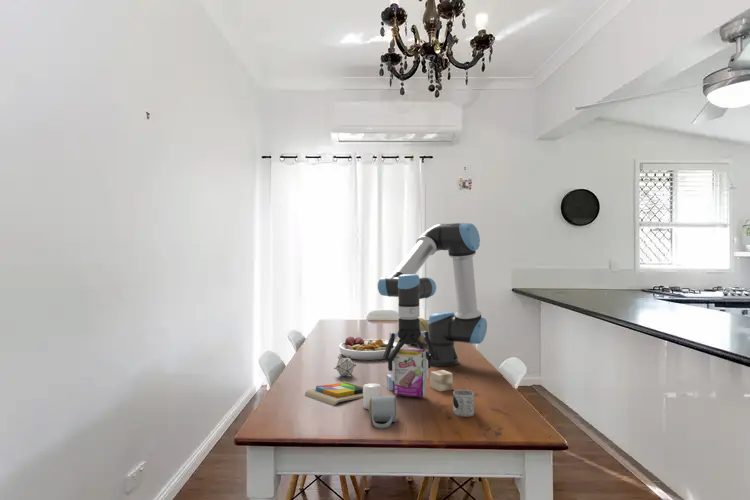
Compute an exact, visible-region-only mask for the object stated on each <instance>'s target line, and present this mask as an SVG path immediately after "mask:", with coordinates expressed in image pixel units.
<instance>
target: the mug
mask: <svg viewBox="0 0 750 500" xmlns="http://www.w3.org/2000/svg"><path fill="white" fill-rule="evenodd" d="M452 392H453V393H452V395H453V396H452V398H453V399H452V403H453V404H452V405H453V406H452V407H453V408H452V409H453V410H452V412H453V414H454V415H455V416H457V417H464V418H466V417H472V416H474V415H475V392H474V391H473V390H471V389H470V390H469V389H463V388H462V389H456V390H453V391H452Z"/></svg>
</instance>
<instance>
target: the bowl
mask: <svg viewBox="0 0 750 500" xmlns="http://www.w3.org/2000/svg"><path fill="white" fill-rule="evenodd" d="M388 342H389V339H381V338H378V339H375V338H367V339H363V338H362V337H361V336H358V337H356V338H355V337H353V336H348V337H346V339H345V341H344V342H342V343H340V344H339V351H340V354H341V355H342V356H344V357H345V358H349V356H350V359H351V360H352V359H353V360H359V361H360V360H361V361H379V360H384V359H383V355H384V352H385V350H386V347H387V344H388ZM397 343H398V342H395V341H394V343H393V346H392V349H391V352H390V354H391V353H392V351H393V349H394V348H395V347H396V345H397ZM390 354H389V356H390Z"/></svg>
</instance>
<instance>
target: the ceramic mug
mask: <svg viewBox="0 0 750 500" xmlns="http://www.w3.org/2000/svg"><path fill="white" fill-rule="evenodd" d="M368 414H369V419H370V420H371V422H372V425H373V426H374V427H375V428H377V429H387V428H388V427H390V426H391V425H392V423H396V422H397V401H396V395H384V396H383V395H381V396H380V397H373V398H371V399H370V401H369V409H368ZM377 422H381V423H382V422H385V423H383V424H381V423H377Z"/></svg>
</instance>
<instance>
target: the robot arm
mask: <svg viewBox="0 0 750 500" xmlns="http://www.w3.org/2000/svg"><path fill="white" fill-rule="evenodd" d="M480 241H481V238H480V234H479V231H478V227H476V226H475V224H473V223H469V222H467V223H466V222H456V223H439V224H435V225H433V226H432V227H430V228H428V229H427V230H425V232H423V233H422V234H421V235H420V236H419V237H418V238H417V240H416V242H415V245H414V247H413V248H412V249H411V250H410V251H409V253H408V254H407V255H406V256H405V257H404V258H403V259H402V261H401V262H400V263H399V264H398V266H397V267H396V268H395V269H394V270H393V272H392V273H391V274H390V275H389V276H387V275H386V276H381V277H380V278H379V279H378V282H377V291H378V293H379V294H380V295H381V296H385V297H393V298H398V308H397V309H398V317H399V318H398V331H397V332H389V339H388V341H389V342H388V344H387V347H386V350H385V352H384V355H383V359H382V360H384V361H387V369H388V371H389V372H390V374H391V379H392V380H393V381H395V362H394V361H393V360H394V358H395V357H396V355H397V353H398V352H399V350H400V349H401V347H404V345H409V344H410V345H416V346H417V347H418V349H425V347H424V346H423V344H421V343H420V341H419V340H418V339H419V337H420V336H421V335H422V337H424V340H425V343H424V344H425V345H426V348H427V349H426V379H429V369H431V367H432V366H435V367H451V366H455V365H458V364H459V357H458V354H457V351H456V348H455V343H464V344H470V345H472V344H475V345H476V344H477V345H479V344H481V343H483V341H484V339H485V337H486V335H487V330H488V321H487V319H486V318H485V317H482V312H481V311H480V310H479V309H478V305H477V302H478V301H477V294H476V293H477V292H476V283H475V269H474V268H475V267H474V259H473V257H474V256H475V255H476V251H477V250H479V247H480V243H481V242H480ZM440 251H448V256H449V258H451V259H452V265H453V267H452V269H453V276H454V286H455V287H454V288H455V295H456V305H457V306H456V309H457V311H456V312H455V313H454V312H453V311H446V312H445V311H444V312H443V311H441V312H435V313H431V314H430V315H429V317H428V325H429V333H428V332H427V331H422V332H420V319H419V318H420V300H421V299H428V298H430V297H432V296H433V295H435V294H436V292H437V291H436V290H437V284H436V282H435V281H434V279H433V278H431V277H420V276H419V275H418V274H417V273H418V271H419V270H420V269H421V268H422V267H423V265H424V264H425V262H426V261H427V260H428V259H429V257H430V256H433V255H435V253H436V252H440ZM397 337H398V338H399V340H398V341H397V342H396V343H397V345H396V347H395V348H394V350H393V351H392V353H391V354H390V352H391V349H392V346H393V343H394V342H395V341H396V339H397ZM414 343H416V344H414ZM389 354H390V356H389Z"/></svg>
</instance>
